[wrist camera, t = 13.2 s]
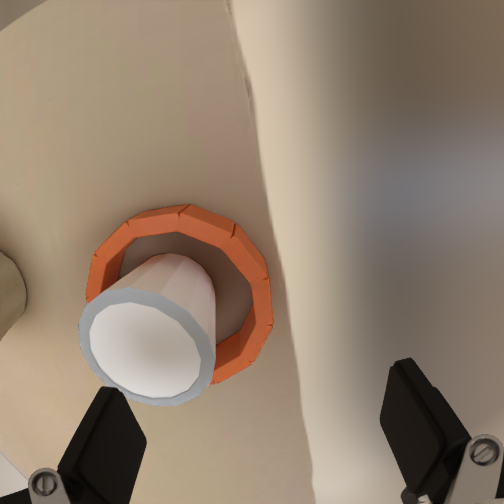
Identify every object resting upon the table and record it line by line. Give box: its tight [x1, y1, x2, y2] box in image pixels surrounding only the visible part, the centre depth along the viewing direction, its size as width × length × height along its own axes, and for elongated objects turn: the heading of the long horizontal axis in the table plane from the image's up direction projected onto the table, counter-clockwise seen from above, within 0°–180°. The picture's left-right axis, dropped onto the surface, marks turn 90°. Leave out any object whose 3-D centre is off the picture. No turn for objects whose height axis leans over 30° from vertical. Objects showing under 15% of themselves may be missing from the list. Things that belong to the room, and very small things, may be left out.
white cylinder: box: [78, 253, 216, 406], centre depth 16 cm, size 7×7×7 cm
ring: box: [86, 204, 274, 385], centre depth 18 cm, size 11×11×3 cm
